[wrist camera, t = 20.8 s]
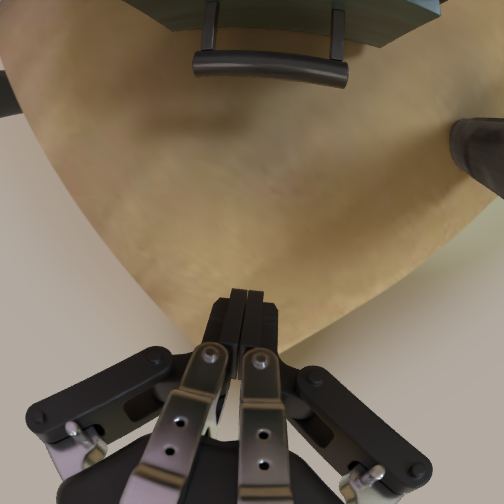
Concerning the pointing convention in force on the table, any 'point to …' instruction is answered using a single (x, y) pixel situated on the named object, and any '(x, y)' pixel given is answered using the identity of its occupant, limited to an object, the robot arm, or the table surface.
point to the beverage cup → (480, 150)
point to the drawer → (289, 18)
